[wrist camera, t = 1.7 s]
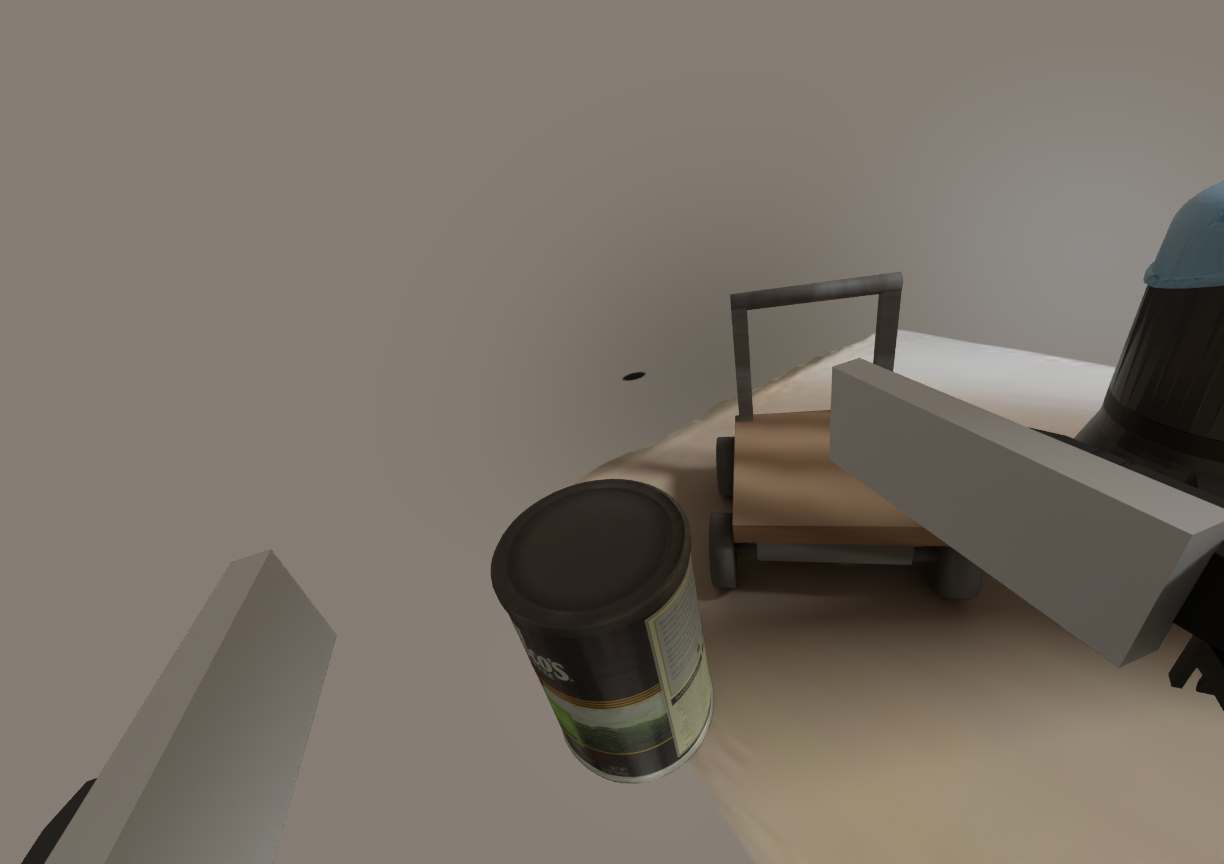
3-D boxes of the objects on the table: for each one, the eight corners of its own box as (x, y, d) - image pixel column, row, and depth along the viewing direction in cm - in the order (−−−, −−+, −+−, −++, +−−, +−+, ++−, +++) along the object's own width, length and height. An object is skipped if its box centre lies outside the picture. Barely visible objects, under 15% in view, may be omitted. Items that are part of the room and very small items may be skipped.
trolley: (722, 472, 50) (704, 293, 40) (902, 467, 45) (929, 262, 35) (714, 602, 36) (684, 379, 27) (972, 617, 31) (1045, 349, 22)
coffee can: (605, 829, 25) (530, 673, 18) (538, 679, 34) (468, 532, 27) (751, 714, 29) (735, 546, 22) (657, 604, 37) (623, 456, 30)
